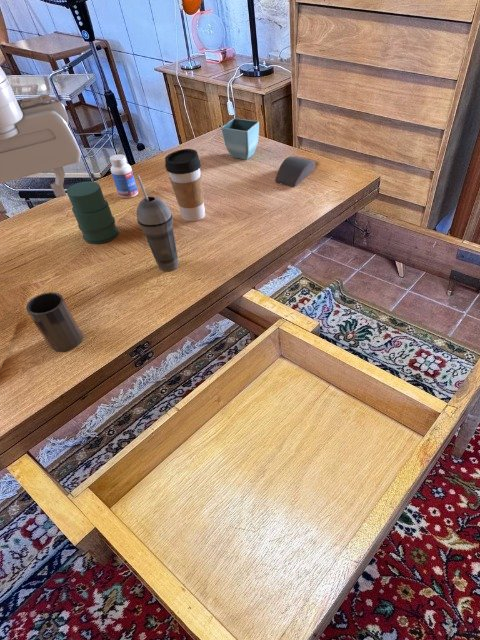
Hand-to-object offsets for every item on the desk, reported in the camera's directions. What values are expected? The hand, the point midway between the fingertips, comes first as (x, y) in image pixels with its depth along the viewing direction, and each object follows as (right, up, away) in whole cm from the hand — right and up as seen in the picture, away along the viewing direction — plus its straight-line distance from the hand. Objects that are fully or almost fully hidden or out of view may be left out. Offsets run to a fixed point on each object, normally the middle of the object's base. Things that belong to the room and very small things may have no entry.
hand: (32, 204), depth 72 cm
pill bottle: (-4, +26, +52) cm, 58 cm away
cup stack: (-6, +9, +38) cm, 40 cm away
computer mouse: (+43, +34, +58) cm, 79 cm away
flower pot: (+26, +45, +67) cm, 85 cm away
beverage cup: (+14, -1, +29) cm, 32 cm away
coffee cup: (+16, +16, +43) cm, 49 cm away
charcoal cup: (-1, -21, +13) cm, 24 cm away
